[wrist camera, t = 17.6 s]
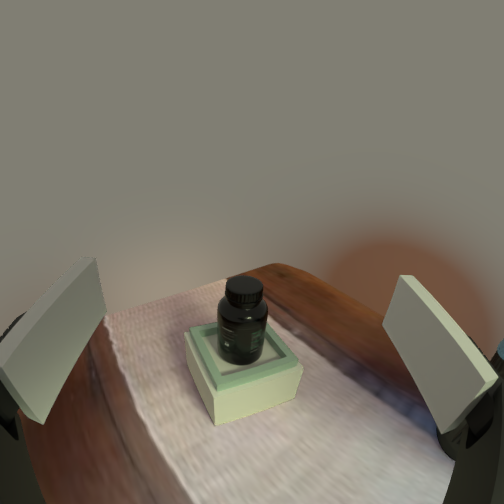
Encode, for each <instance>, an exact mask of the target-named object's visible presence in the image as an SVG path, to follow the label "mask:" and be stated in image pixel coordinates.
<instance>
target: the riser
mask: <svg viewBox="0 0 504 504" xmlns="http://www.w3.org/2000/svg"><path fill="white" fill-rule="evenodd" d="M184 340H185V349H186V358H187V365H188V368H189V370H190V373H191V375H192V377H193V380H194V382H195V384H196V387H197V389H198V391H199V393H200V396H201V398H202V400H203V402H204V404H205V406H206V409H207V411H208V413H209V415H210V417H211V419H212V421H213V423H214V425H215V426H218V425H221V424H224V423H228V422H231V421H234V420H237V419H240V418H243V417H246V416H249V415H252V414H255V413H258V412H260V411H263V410H266V409H269V408H271V407H274V406H276V405H279V404H281V403H284V402H286V401H289V400H291V399H294V398H295V395H296V391H297V388H298V385H299V382H300V379H301V376H302V372H303V369H304V367H303V366H302V365H301V364H300V363H299V361H298V358H297V357H296V356H295V355H294V354H293V352H292V351H291V350H290V349H289V348H288V347H287V345H286V344H285V343H284V342H283V341H282V340H281V338H280V337H279V336H278V335H277V334H276V333H275V331H274V330H273V329H272V328H271V327H270V325H269V324H268V323H267V324H266V331H265V338H264V345H263V351H262V355H261V357H260V358H259V359H258V360H257V361H256V362H254V363H252V364H249V365H244V366H238V365H233V364H230V363H228V362H226V361H225V360H223V359H222V358H221V357H220V355H219V353H218V348H217V322H215V323H210V324H205V325H201V326H196V327H191V328H189V332H184Z"/></svg>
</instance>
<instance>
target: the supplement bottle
mask: <svg viewBox="0 0 504 504" xmlns="http://www.w3.org/2000/svg"><path fill="white" fill-rule="evenodd" d="M262 298H263V284H262V282H261V281H259V280H258V279H257V278H254V277H251V276H244V275H243V276H235V277H232V278H230V279H229V280H227V282H226V291H225V296H224V297H223V298H222V299H221V300H220V302H219V304H218V309H217V348H218V353H219V355H220V357H221V358H222V359H223V360H225V361H226V362H228V363H230V364H233V365H238V366H244V365H249V364H252V363H254V362H256V361H257V360H258V359H259V358H260V357H261V355H262V351H263V345H264V338H265V331H266V324H267V316H268V307H267V304H266V302H265V301H264V300H263V299H262Z"/></svg>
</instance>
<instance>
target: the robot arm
mask: <svg viewBox="0 0 504 504" xmlns="http://www.w3.org/2000/svg"><path fill="white" fill-rule="evenodd" d="M106 312H107V310H106V306H105V302H104V297H103V293H102V288H101V283H100V278H99V273H98V268H97V262H96V258H89V257H81V258H80V259H79V260H78V261H77V262H76V263H74V264H73V265H72V266H71V267H70V268H69V269H68V270H67V271H66V272H65V273H64V274H63V275H62V276H61V277H60V278H59V279H58V280H57V281H56V282H55V283H54V284H53V285H52V286H51V287H50V288H49V289H48V290H47V291H46V292H45V293H44V294H43V295H42V296H41V297H40V298H39V299H38V300H37V301H36V302H35V303H34V304H33V306H32V307H31V308H30V309H29V310H28V311H27V312H25V313H23V314H22V315H20V316H19V317H17V318H16V319H15V320H14V321H13V322H12V324H11V325H10V326H9V329H6V331H5V332H4V333H3V336H1V337H0V504H46V502H45V500H44V498H43V495H42V493H41V490H40V487H39V485H38V482H37V479H36V476H35V473H34V470H33V467H32V464H31V461H30V457H29V454H28V450H27V446H26V442H25V438H24V434H23V429H22V424H21V420H20V417H19V415H18V413H17V411H18V409H19V407H20V408H21V410H22V411H23V412H24V413H25V415H26V416H27V417H28V418H30V419H32V420H34V421H36V422H38V423H40V424H43V425H44V422H45V420H46V418H47V416H48V414H49V412H50V410H51V408H52V406H53V404H54V402H55V400H56V398H57V396H58V394H59V392H60V390H61V388H62V386H63V384H64V383H65V381H66V379H67V377H68V375H69V373H70V372H71V370H72V368H73V366H74V364H75V363H76V361H77V359H78V357H79V356H80V354H81V352H82V351H83V349H84V347H85V346H86V344H87V342H88V341H89V339H90V337H91V336H92V334H93V332H94V331H95V329H96V328H97V326H98V324H99V323H100V321H101V320H102V318H103V317H104V315H105V313H106ZM382 326H383V327H384V329H385V330H386V332H387V334H388V335H389V337H390V339H391V341H392V342H393V344H394V346H395V347H396V349H397V351H398V353H399V354H400V356H401V358H402V360H403V361H404V363H405V365H406V367H407V368H408V370H409V372H410V374H411V376H412V378H413V379H414V381H415V383H416V385H417V387H418V389H419V391H420V393H421V394H422V396H423V398H424V400H425V402H426V404H427V406H428V408H429V410H430V412H431V414H432V416H433V418H434V420H435V422H436V424H437V436H438V439H439V442H440V444H441V446H442V448H443V450H444V451H445V452H446V453H447V454H448V455H449V456H450V457H451V458H452V459H454V460H456V462H455V466H454V470H453V473H452V477H451V480H450V483H449V487H448V490H447V493H446V496H445V498H444V501H443V504H504V339H503V340H502V341H501V342H500V344H499V345H498V347H497V351H496V353H495V354H494V356H493V357H492V359H491V360H490V361H489V360H488V359H487V357H486V356H485V355H483V352H482V351H481V350H480V348H478V346H477V345H476V343H475V342H474V341H473V340H472V339H471V337H469V336H468V335H467V334H465V333H464V332H463V331H462V329H461V328H460V327H459V326H458V325H457V323H456V322H455V321H454V320H453V319H452V318H451V317H450V315H449V314H448V313H447V312H446V311H445V310H444V309H443V307H442V306H441V305H440V304H439V303H438V302H437V301H436V300H435V299H434V297H433V296H432V295H431V294H430V293H429V292H428V291H427V290H426V289H425V288H424V287H423V286H422V285H421V284H420V283H419V282H418V281H417V280H416V278H415V277H414V276H412V275H400V276H399V279H398V282H397V285H396V288H395V291H394V294H393V297H392V300H391V302H390V305H389V308H388V311H387V313H386V316H385V318H384V321H383V323H382Z"/></svg>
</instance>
